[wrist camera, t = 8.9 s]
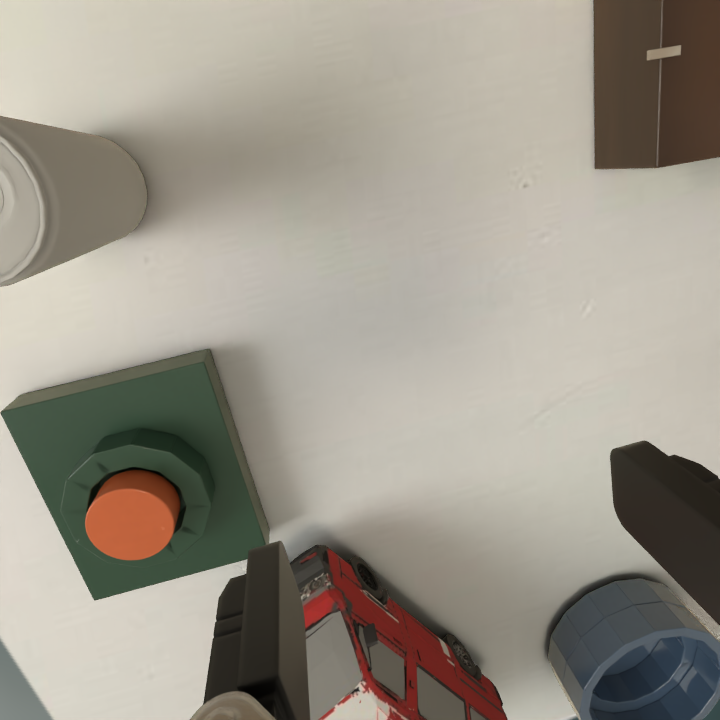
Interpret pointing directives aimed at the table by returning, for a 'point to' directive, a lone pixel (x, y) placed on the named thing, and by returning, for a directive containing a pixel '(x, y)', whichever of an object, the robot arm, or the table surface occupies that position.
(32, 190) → the beverage can
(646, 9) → the base
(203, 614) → the table surface
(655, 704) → the grey round pet bowl
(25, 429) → the green button base
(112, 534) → the button
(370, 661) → the toy car
